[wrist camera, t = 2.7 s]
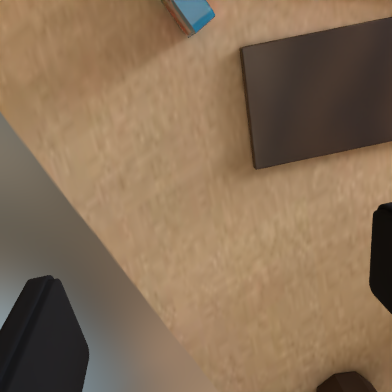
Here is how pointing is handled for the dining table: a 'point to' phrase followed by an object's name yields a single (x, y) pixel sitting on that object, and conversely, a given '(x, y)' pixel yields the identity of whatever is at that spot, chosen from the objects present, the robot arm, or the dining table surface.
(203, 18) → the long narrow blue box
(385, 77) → the walnut board
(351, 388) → the beer bottle
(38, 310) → the robot arm
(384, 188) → the dining table surface
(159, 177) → the dining table surface
